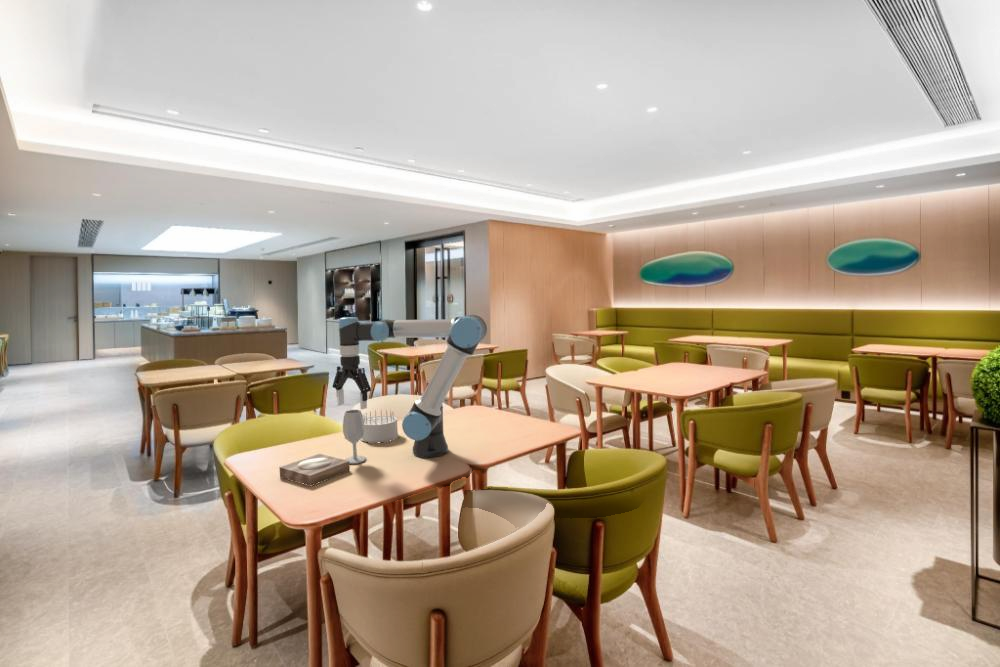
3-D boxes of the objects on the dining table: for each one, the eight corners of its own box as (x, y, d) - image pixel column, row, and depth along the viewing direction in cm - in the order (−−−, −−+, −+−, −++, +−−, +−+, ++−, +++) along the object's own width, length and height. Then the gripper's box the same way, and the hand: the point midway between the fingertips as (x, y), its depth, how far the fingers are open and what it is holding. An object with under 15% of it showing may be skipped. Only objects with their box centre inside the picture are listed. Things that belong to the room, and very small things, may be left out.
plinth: (349, 470, 197) (349, 459, 197) (310, 486, 182) (309, 474, 181) (319, 463, 207) (319, 452, 206) (280, 477, 192) (279, 466, 191)
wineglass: (370, 458, 211) (368, 409, 209) (358, 465, 203) (355, 414, 201) (352, 456, 214) (350, 408, 212) (339, 463, 206) (337, 413, 204)
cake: (374, 431, 253) (373, 405, 251) (405, 434, 247) (404, 407, 245) (352, 441, 236) (350, 413, 235) (385, 444, 230) (384, 416, 229)
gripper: (378, 356, 201) (380, 408, 203) (336, 352, 214) (339, 401, 216) (364, 358, 195) (366, 412, 196) (322, 354, 208) (324, 405, 210)
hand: (352, 407), depth 206 cm, fingers open, 13 cm apart
